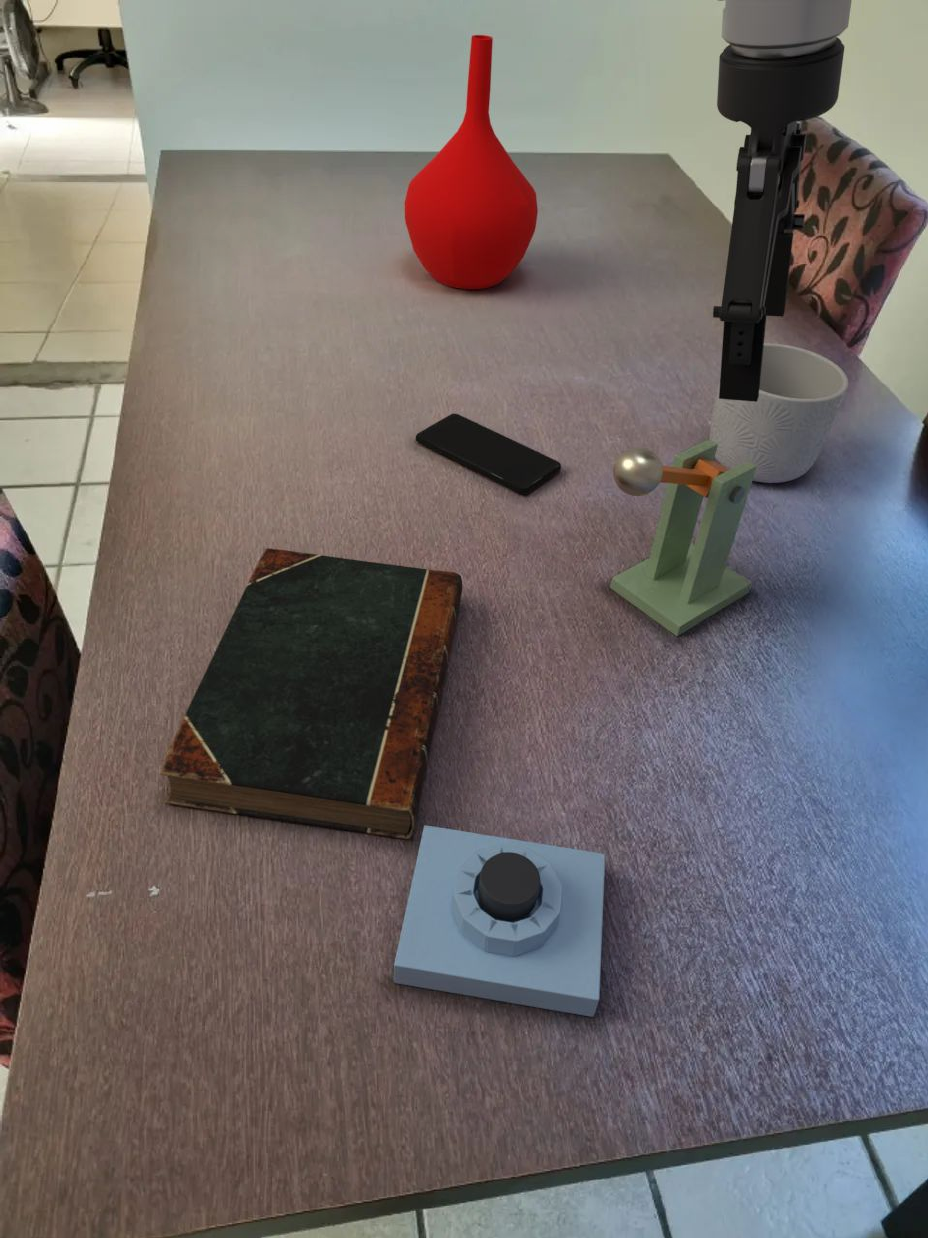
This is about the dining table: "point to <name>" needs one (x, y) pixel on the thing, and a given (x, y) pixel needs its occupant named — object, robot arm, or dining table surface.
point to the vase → (471, 196)
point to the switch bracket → (691, 549)
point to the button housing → (504, 925)
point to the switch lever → (660, 473)
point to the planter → (781, 415)
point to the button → (509, 886)
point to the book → (320, 696)
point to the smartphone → (489, 453)
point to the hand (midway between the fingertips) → (753, 353)
